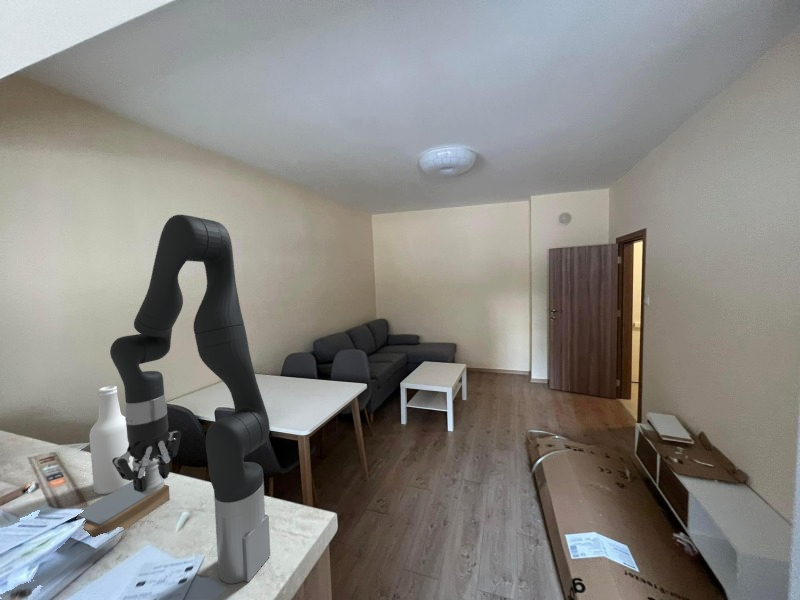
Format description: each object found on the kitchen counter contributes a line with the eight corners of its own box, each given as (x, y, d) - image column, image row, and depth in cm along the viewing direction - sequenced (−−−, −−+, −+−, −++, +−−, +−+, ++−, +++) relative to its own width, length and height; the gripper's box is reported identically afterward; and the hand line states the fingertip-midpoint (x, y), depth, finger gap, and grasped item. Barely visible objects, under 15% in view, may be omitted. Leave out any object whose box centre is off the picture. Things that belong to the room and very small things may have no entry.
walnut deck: (169, 499, 82) (168, 485, 82) (95, 549, 67) (94, 532, 67) (141, 490, 86) (140, 477, 86) (64, 535, 71) (63, 519, 70)
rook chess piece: (160, 480, 75) (157, 450, 74) (168, 486, 72) (165, 455, 72) (137, 491, 71) (135, 460, 70) (145, 498, 68) (142, 465, 68)
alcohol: (99, 500, 82) (90, 395, 80) (90, 488, 87) (81, 389, 85) (139, 481, 90) (132, 385, 88) (129, 472, 94) (122, 380, 92)
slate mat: (160, 488, 81) (160, 486, 81) (100, 526, 68) (99, 524, 68) (136, 481, 84) (136, 479, 84) (74, 515, 72) (74, 513, 72)
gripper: (121, 432, 62) (128, 509, 63) (188, 405, 76) (192, 469, 77) (99, 428, 65) (106, 502, 66) (167, 402, 78) (172, 464, 79)
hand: (153, 483), depth 71 cm, fingers closed on rook chess piece, 4 cm apart
